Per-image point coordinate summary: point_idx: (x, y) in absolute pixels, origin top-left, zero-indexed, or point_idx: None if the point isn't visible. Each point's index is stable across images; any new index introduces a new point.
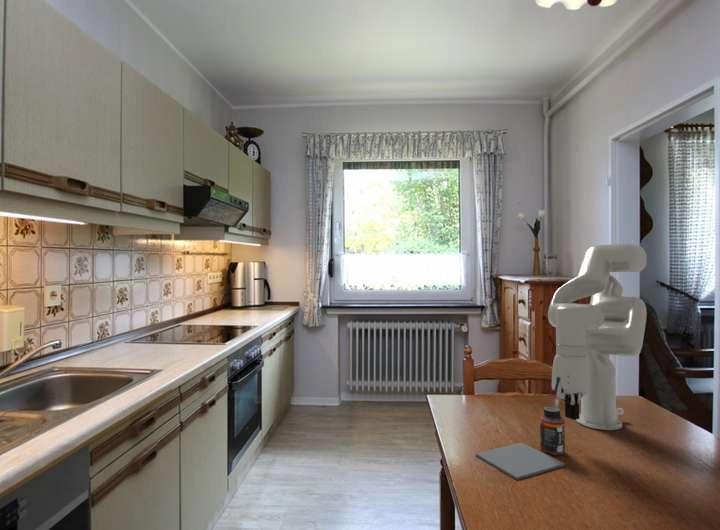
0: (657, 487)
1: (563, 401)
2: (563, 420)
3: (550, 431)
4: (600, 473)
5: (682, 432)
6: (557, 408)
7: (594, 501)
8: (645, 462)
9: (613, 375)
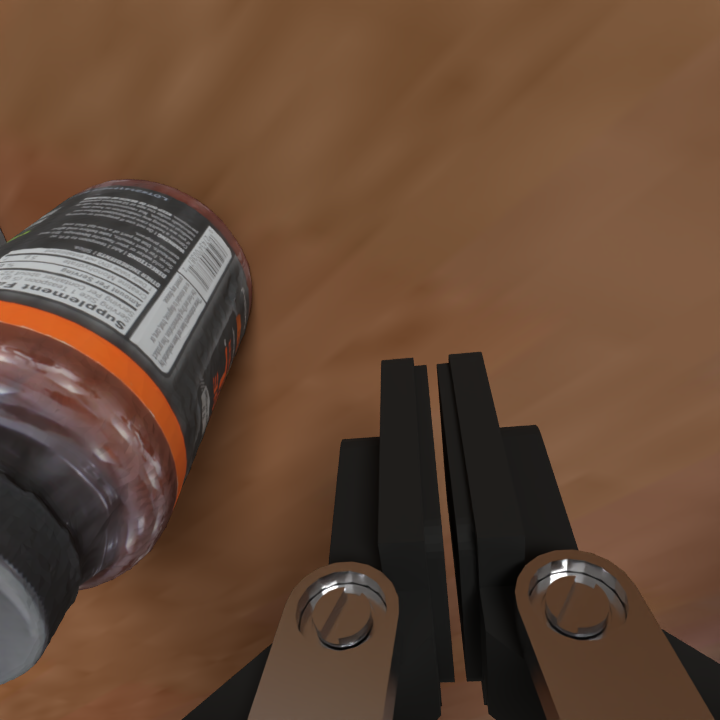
0: None
1: (293, 596)
2: (117, 575)
3: None
4: (257, 576)
5: None
6: (25, 621)
7: (39, 686)
8: (652, 579)
9: None
